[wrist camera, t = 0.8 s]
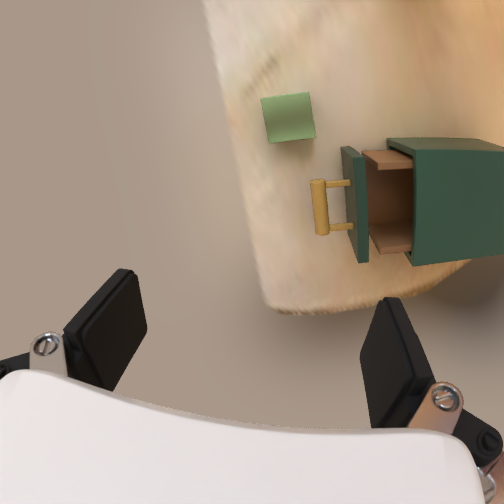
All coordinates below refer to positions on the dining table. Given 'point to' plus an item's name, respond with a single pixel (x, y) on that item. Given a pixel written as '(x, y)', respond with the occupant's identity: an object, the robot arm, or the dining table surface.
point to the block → (288, 117)
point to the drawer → (371, 201)
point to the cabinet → (455, 198)
